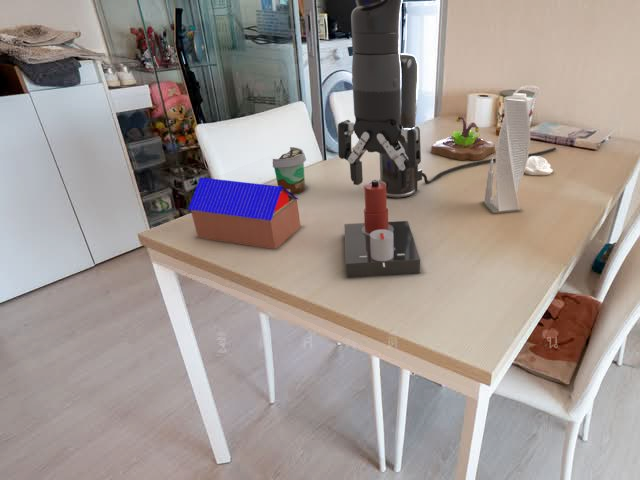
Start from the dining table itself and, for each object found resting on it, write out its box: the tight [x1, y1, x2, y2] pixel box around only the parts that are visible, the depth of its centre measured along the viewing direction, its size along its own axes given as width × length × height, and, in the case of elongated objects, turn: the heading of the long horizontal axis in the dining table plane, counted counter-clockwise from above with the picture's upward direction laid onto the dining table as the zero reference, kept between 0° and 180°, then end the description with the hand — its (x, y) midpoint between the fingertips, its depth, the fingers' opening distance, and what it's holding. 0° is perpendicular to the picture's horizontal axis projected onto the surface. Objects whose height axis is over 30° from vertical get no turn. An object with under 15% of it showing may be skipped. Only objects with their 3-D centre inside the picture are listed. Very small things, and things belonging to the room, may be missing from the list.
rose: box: [524, 155, 554, 176], centre depth 138 cm, size 10×4×10 cm
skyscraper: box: [482, 84, 540, 215], centre depth 107 cm, size 8×8×28 cm
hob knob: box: [370, 229, 394, 261], centre depth 86 cm, size 4×4×5 cm
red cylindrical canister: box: [363, 179, 389, 233], centre depth 94 cm, size 5×5×10 cm
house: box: [187, 177, 302, 250], centre depth 100 cm, size 12×20×12 cm, turn 73°
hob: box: [343, 220, 421, 279], centre depth 93 cm, size 20×14×3 cm
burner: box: [362, 224, 394, 236], centre depth 97 cm, size 7×7×1 cm
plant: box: [430, 116, 496, 162], centre depth 154 cm, size 20×20×11 cm
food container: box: [272, 146, 307, 196], centre depth 123 cm, size 12×6×10 cm, turn 168°
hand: (379, 186), depth 80 cm, fingers open, 8 cm apart
